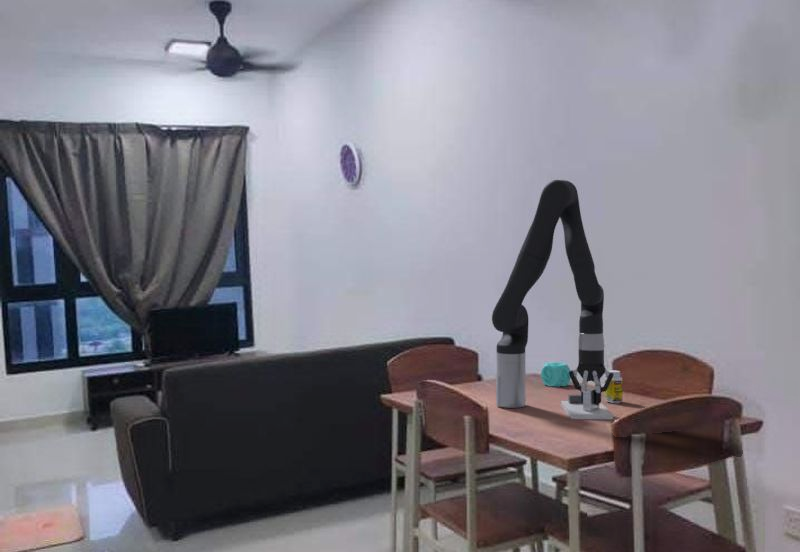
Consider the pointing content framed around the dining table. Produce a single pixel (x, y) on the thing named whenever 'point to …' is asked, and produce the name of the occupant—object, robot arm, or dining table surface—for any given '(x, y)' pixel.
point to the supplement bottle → (614, 388)
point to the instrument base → (576, 410)
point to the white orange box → (589, 399)
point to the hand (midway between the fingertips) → (591, 404)
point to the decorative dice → (555, 374)
